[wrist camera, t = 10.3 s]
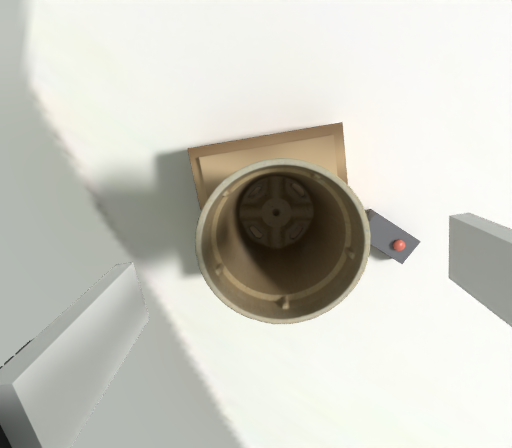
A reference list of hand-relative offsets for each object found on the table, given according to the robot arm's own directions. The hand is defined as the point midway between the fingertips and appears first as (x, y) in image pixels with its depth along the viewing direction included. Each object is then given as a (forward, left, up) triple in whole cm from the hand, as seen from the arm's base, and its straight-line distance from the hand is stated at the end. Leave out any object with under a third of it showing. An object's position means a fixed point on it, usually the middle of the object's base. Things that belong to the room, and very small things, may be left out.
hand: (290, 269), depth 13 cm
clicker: (+5, +10, -17) cm, 20 cm away
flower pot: (0, 0, -13) cm, 13 cm away
